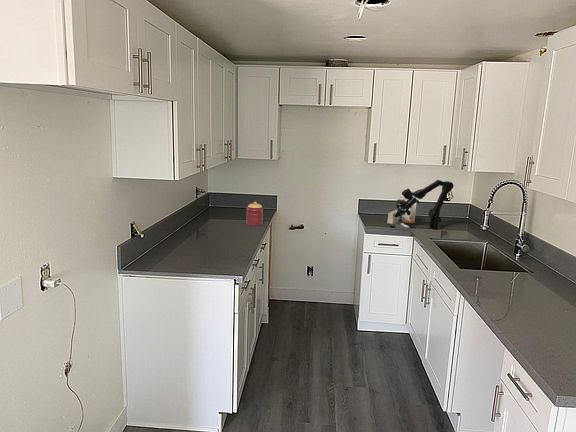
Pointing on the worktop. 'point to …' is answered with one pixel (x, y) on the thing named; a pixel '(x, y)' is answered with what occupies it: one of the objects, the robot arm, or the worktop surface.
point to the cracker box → (410, 217)
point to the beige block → (392, 217)
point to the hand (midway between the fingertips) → (394, 216)
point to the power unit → (400, 226)
